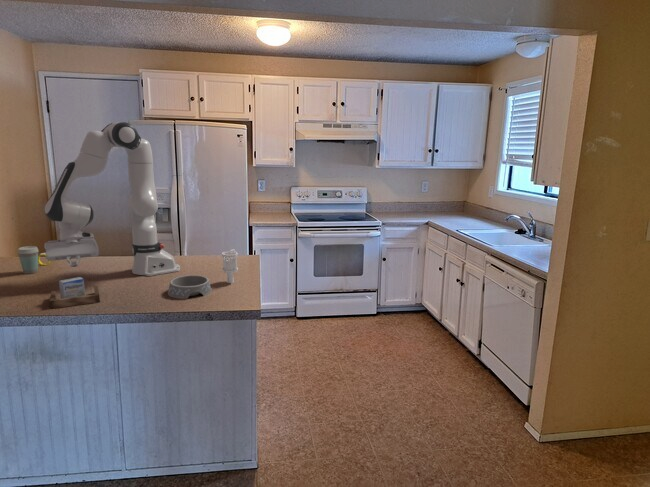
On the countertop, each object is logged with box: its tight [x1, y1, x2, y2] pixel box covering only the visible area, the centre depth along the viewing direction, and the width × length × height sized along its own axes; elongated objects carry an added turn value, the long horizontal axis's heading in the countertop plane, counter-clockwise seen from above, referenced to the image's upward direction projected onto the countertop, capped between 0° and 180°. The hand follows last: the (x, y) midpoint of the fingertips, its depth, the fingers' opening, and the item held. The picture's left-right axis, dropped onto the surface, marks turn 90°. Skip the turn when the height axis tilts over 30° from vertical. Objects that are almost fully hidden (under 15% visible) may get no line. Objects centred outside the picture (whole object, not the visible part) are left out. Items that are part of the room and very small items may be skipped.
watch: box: [38, 252, 51, 266], centre depth 226 cm, size 6×3×6 cm, turn 87°
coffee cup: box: [17, 245, 40, 275], centre depth 213 cm, size 9×9×12 cm
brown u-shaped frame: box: [49, 285, 101, 310], centre depth 180 cm, size 17×12×3 cm
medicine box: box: [58, 276, 86, 299], centre depth 179 cm, size 8×4×9 cm, turn 138°
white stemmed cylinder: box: [221, 248, 239, 284], centre depth 205 cm, size 7×7×15 cm
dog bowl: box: [167, 274, 213, 300], centre depth 193 cm, size 17×18×5 cm
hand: (74, 266), depth 191 cm, fingers closed
